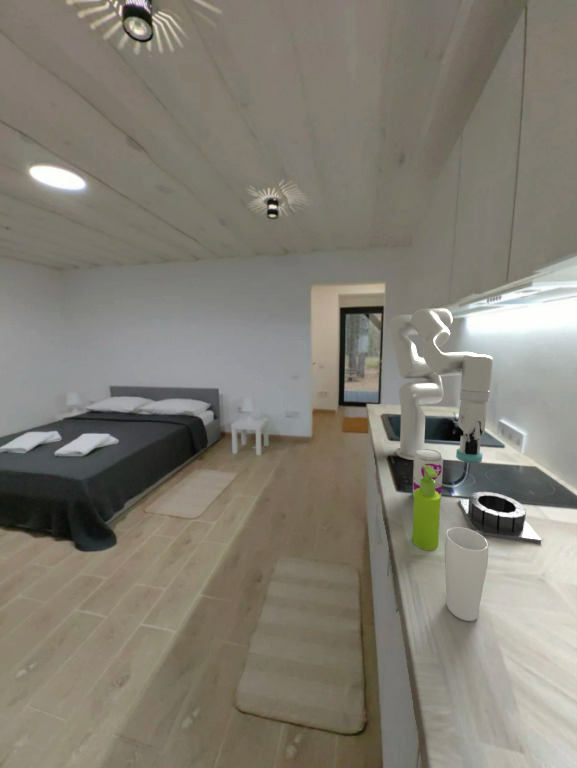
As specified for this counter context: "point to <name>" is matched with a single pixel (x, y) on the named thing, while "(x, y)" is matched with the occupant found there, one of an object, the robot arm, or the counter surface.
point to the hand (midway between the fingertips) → (469, 451)
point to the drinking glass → (465, 571)
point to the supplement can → (432, 460)
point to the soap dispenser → (426, 512)
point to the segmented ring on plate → (498, 517)
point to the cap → (468, 457)
